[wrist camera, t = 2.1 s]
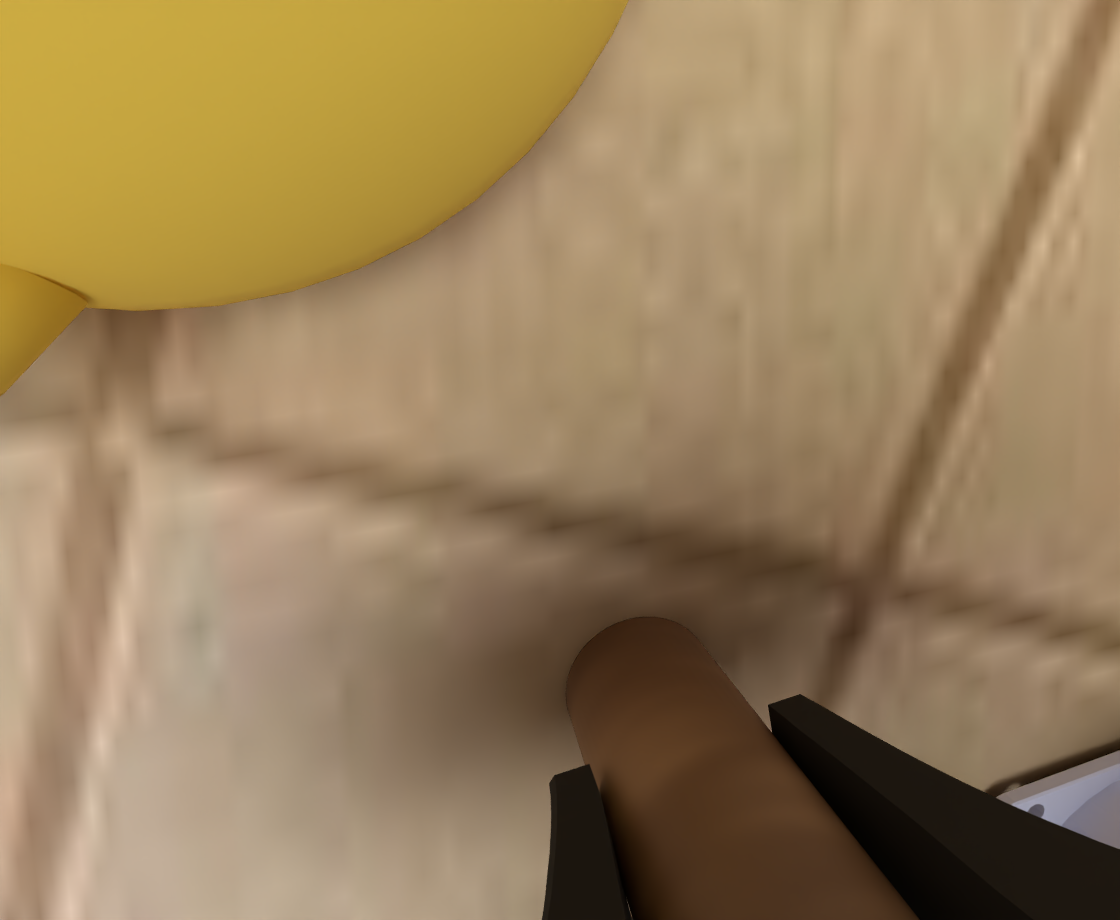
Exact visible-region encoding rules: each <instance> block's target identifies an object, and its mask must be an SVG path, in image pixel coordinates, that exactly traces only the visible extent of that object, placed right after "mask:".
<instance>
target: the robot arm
mask: <svg viewBox="0 0 1120 920" xmlns="http://www.w3.org/2000/svg"><path fill="white" fill-rule="evenodd" d="M768 708H769V715H770V721H771V728H772V734H773V735H774V736H775V738H776V739H777V740H778V741H779V743H780V744H781V745H782V746H783V748H784V749H785V750H786V751H787V753H788V754H789V755H790V756H791V758H792V759H793V760H794V762H795V763H796V764H797V765H798V767H799V768H800V769H801V770H802V772H803V773H804V774H805V775H806V777H807V778H808V779H809V780H810V782H811V783H812V784H813V786H814V787H815V788H816V789H817V791H818V792H819V793H820V794H821V796H822V797H823V798H824V799H825V801H826V802H827V803H828V804H829V806H830V807H831V808H832V810H833V811H834V812H835V813H836V815H837V816H838V817H839V818H840V820H841V821H842V822H843V823H844V825H845V826H846V827H847V828H848V830H849V831H850V832H851V834H852V835H853V836H854V837H855V839H856V840H857V841H858V842H859V844H860V845H861V846H862V847H863V849H864V850H865V851H866V852H867V854H868V855H869V856H870V858H871V859H872V860H873V861H874V863H875V864H876V865H877V866H878V868H879V869H880V870H881V871H882V873H883V874H884V875H885V876H886V878H887V879H888V880H889V882H890V883H891V884H892V885H893V887H894V888H895V889H896V890H897V892H898V893H899V894H900V895H901V897H902V898H903V899H904V900H905V902H906V903H907V904H908V906H909V907H910V908H911V909H912V911H913V912H914V913H915V914H916V916H917V917H918V918H919V919H920V920H1120V750H1119V751H1116V752H1113V753H1111V754H1108V755H1105V756H1102V757H1100V758H1097V759H1094V760H1092V761H1089V762H1086V763H1083V764H1081V765H1078V766H1075V767H1073V768H1070V769H1067V770H1065V771H1062V772H1059V773H1056V774H1054V775H1051V776H1048V777H1046V778H1043V779H1040V780H1037V781H1035V782H1032V783H1029V784H1027V785H1024V786H1021V787H1018V788H1016V789H1013V790H1010V791H1008V792H1005V793H1003V794H1001V795H999V796H997V797H996V798H995V797H993V796H991V795H989V794H987V793H985V792H983V791H980V790H978V789H976V788H974V787H972V786H970V785H968V784H966V783H964V782H961V781H959V780H957V779H955V778H953V777H951V776H949V775H947V774H945V773H943V772H941V771H939V770H937V769H935V768H933V767H931V766H929V765H928V764H926V763H924V762H922V761H920V760H918V759H916V758H914V757H912V756H910V755H909V754H907V753H905V752H903V751H901V750H899V749H897V748H895V747H894V746H892V745H890V744H888V743H886V742H884V741H883V740H881V739H879V738H877V737H875V736H874V735H872V734H870V733H868V732H866V731H865V730H863V729H861V728H859V727H858V726H856V725H854V724H852V723H850V722H849V721H847V720H845V719H843V718H842V717H840V716H838V715H836V714H835V713H833V712H831V711H829V710H828V709H826V708H824V707H822V706H821V705H819V704H817V703H815V702H814V701H812V700H810V699H808V698H806V697H805V696H803V695H801V694H799V695H796V696H793V697H790V698H787V699H784V700H781V701H778V702H775V703H772V704H769V705H768ZM549 785H550V793H551V839H550V855H549V865H548V875H547V884H546V894H545V902H544V910H543V916H542V920H632V918H631V914H630V910H629V906H628V902H627V898H626V895H625V891H624V888H623V885H622V881H621V877H620V872H619V868H618V864H617V859H616V855H615V850H614V846H613V842H612V838H611V834H610V830H609V826H608V822H607V818H606V814H605V810H604V806H603V802H602V798H601V795H600V792H599V789H598V786H597V784H596V781H595V778H594V775H593V772H592V770H591V767H590V764H588V765H585V766H582V767H578V768H575V769H572V770H569V771H566V772H563V773H560V774H557V775H554V777H553V778H552V780H551V781H550V783H549Z"/></svg>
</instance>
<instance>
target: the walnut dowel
mask: <svg viewBox="0 0 1120 920" xmlns="http://www.w3.org/2000/svg"><path fill="white" fill-rule="evenodd" d="M566 702H567V708H568V711H569V715H570V718H571V721H572V724H573V728H574V731H575V734H576V737H577V740H578V744H579V747H580V750H581V753H582V756H583V760H584V763H585V765H588V764H590V767H591V770H592V772H593V775H594V778H595V781H596V784H597V786H598V789H599V792H600V795H601V798H602V802H603V806H604V810H605V814H606V818H607V822H608V826H609V830H610V834H611V838H612V842H613V846H614V850H615V855H616V859H617V864H618V868H619V872H620V877H621V881H622V885H623V888H624V891H625V895H626V898H627V901H628V904H629V907H630V911H631V914H632V917H633V920H920V919H919V918H918V917H917V916H916V914H915V913H914V912H913V911H912V909H911V908H910V907H909V906H908V904H907V903H906V902H905V900H904V899H903V898H902V897H901V895H900V894H899V893H898V892H897V890H896V889H895V888H894V887H893V885H892V884H891V883H890V882H889V880H888V879H887V878H886V876H885V875H884V874H883V873H882V871H881V870H880V869H879V868H878V866H877V865H876V864H875V863H874V861H873V860H872V859H871V858H870V856H869V855H868V854H867V852H866V851H865V850H864V849H863V847H862V846H861V845H860V844H859V842H858V841H857V840H856V839H855V837H854V836H853V835H852V834H851V832H850V831H849V830H848V828H847V827H846V826H845V825H844V823H843V822H842V821H841V820H840V818H839V817H838V816H837V815H836V813H835V812H834V811H833V810H832V808H831V807H830V806H829V804H828V803H827V802H826V801H825V799H824V798H823V797H822V796H821V794H820V793H819V792H818V791H817V789H816V788H815V787H814V786H813V784H812V783H811V782H810V780H809V779H808V778H807V777H806V775H805V774H804V773H803V772H802V770H801V769H800V768H799V767H798V765H797V764H796V763H795V762H794V760H793V759H792V758H791V756H790V755H789V754H788V753H787V751H786V750H785V749H784V748H783V746H782V745H781V744H780V743H779V741H778V740H777V739H776V738H775V736H774V735H773V734H772V732H771V731H770V730H769V729H768V727H767V726H766V725H765V724H764V722H763V721H762V720H761V719H760V717H759V716H758V715H757V714H756V712H755V711H754V710H753V708H752V707H751V706H750V705H749V703H748V702H747V701H746V700H745V698H744V697H743V696H742V695H741V693H740V692H739V691H738V690H737V688H736V687H735V686H734V684H733V683H732V682H731V681H730V679H729V678H728V677H727V676H726V674H725V673H724V672H723V671H722V669H721V668H720V667H719V666H718V664H717V663H716V662H715V660H714V659H713V658H712V657H711V655H710V654H709V653H708V652H707V650H706V649H705V648H704V647H703V645H702V644H701V643H700V642H699V640H698V639H697V638H696V637H695V636H694V635H693V634H692V633H691V632H690V631H689V630H688V629H686V628H685V627H683V626H682V625H680V624H678V623H675V622H673V621H670V620H667V619H663V618H657V617H640V618H633V619H629V620H625V621H622V622H619V623H617V624H614V625H612V626H610V627H608V628H606V629H605V630H603V631H602V632H600V633H599V634H598V635H596V636H595V637H594V638H593V639H592V640H590V641H589V643H588V644H587V645H586V646H585V647H584V648H583V649H582V651H581V652H580V653H579V655H578V656H577V658H576V660H575V661H574V663H573V665H572V668H571V670H570V673H569V676H568V680H567V686H566Z"/></svg>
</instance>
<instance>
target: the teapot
mask: <svg viewBox="0 0 1120 920" xmlns="http://www.w3.org/2000/svg"><path fill="white" fill-rule="evenodd" d="M627 2H628V0H0V396H1V395H3V394H4V393H5V392H6V391H7V390H8V389H9V388H10V387H11V386H12V385H13V383H14V382H15V381H16V380H17V379H18V378H19V377H20V376H21V375H22V374H23V373H24V372H25V371H26V370H27V369H28V368H29V366H30V365H31V364H32V363H33V362H34V361H35V360H36V359H37V358H38V357H39V356H40V355H41V354H42V353H43V352H44V351H45V350H46V348H47V347H48V346H49V345H50V344H51V343H52V342H53V341H54V340H55V339H56V338H57V337H58V336H59V335H60V334H61V333H62V331H63V330H64V329H65V328H66V327H67V326H68V325H69V324H70V323H71V322H72V321H73V320H74V319H75V318H76V317H77V316H78V314H79V313H80V312H81V311H82V310H83V309H84V308H99V309H115V310H131V311H143V310H160V309H176V308H193V307H209V306H220V305H225V304H230V303H235V302H241V301H246V300H251V299H256V298H261V297H267V296H272V295H277V294H282V293H287V292H292V291H295V290H298V289H301V288H304V287H307V286H310V285H313V284H316V283H319V282H322V281H325V280H328V279H331V278H333V277H336V276H339V275H342V274H345V273H348V272H351V271H354V270H357V269H360V268H362V267H364V266H366V265H368V264H370V263H372V262H374V261H376V260H378V259H380V258H382V257H384V256H386V255H388V254H390V253H392V252H394V251H396V250H398V249H400V248H402V247H404V246H406V245H408V244H410V243H412V242H414V241H416V240H418V239H420V238H421V237H423V236H424V235H426V234H427V233H429V232H430V231H432V230H433V229H435V228H436V227H437V226H439V225H440V224H442V223H443V222H445V221H446V220H448V219H449V218H450V217H452V216H453V215H455V214H456V213H458V212H459V211H461V210H462V209H464V208H465V207H466V206H468V205H469V204H471V203H472V202H474V201H475V200H477V199H478V198H479V197H480V196H481V195H482V194H483V193H484V192H485V191H486V190H488V189H489V188H490V187H491V186H492V185H493V184H494V183H495V182H496V181H497V180H498V179H500V178H501V177H502V176H503V175H504V174H505V173H506V172H507V171H508V170H509V169H510V168H512V167H513V166H514V165H515V164H516V163H517V162H518V161H519V160H520V159H521V158H522V157H524V156H525V155H526V154H527V153H528V152H529V151H530V149H531V148H532V147H533V146H534V144H535V143H536V142H537V141H538V140H539V138H540V137H541V136H542V135H543V134H544V132H545V131H546V130H547V129H548V127H549V126H550V125H551V124H552V123H553V121H554V120H555V119H556V118H557V117H558V115H559V114H560V113H561V112H562V111H563V109H564V108H565V107H566V106H567V104H568V103H569V102H570V101H571V100H572V98H573V97H574V95H575V94H576V92H577V91H578V89H579V87H580V86H581V84H582V83H583V81H584V79H585V78H586V76H587V75H588V73H589V71H590V70H591V68H592V66H593V65H594V63H595V62H596V60H597V58H598V57H599V55H600V54H601V52H602V50H603V49H604V47H605V46H606V44H607V42H608V41H609V39H610V37H611V36H612V34H613V32H614V30H615V28H616V26H617V24H618V22H619V19H620V17H621V15H622V13H623V11H624V9H625V7H626V5H627Z"/></svg>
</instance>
